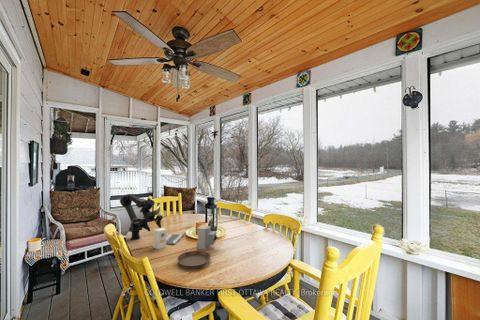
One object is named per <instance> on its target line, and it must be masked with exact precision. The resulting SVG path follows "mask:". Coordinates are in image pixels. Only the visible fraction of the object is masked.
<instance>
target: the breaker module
mask: <svg viewBox="0 0 480 320" xmlns="http://www.w3.org/2000/svg"><path fill="white" fill-rule="evenodd" d="M166 237H167V228H164V227H161V228H159V227H158V228H156V229H153V244H152V245H153V249H157V250H161V249H164V248H166V247H167V244H166Z"/></svg>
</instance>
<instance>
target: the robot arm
mask: <svg viewBox="0 0 480 320" xmlns="http://www.w3.org/2000/svg"><path fill="white" fill-rule="evenodd" d="M119 203H120V204H121V206H122V207H124V208H125V211H126V213H127V214H128V217H129V219H130V227H129V228H128V231H129V232H130V233H131V237H130V240H140V238H141V236H140V231H142V230H143V229H144V230H146V231H148V232H151V228H150V227H149V224H148V223H150V222H155V224H156V226H157V227H158V228H162V219H164V216H163V215H161V214H160V215H158V214H159V212H160V211H159V210H158V209H155V210H152V208H153V206H154V205H155V204H156V202H155V200H153V199H151V198H147V199H144V198H140V197H139V196H136V195H135V194H134V193H128V194H126V195H124V196H123V197H121V198H120V199H119ZM132 203H135V206H136V207H137V208H139V209H140V210H139V213H142V215H143V217H142V219H141V218H138V217H137V214H136V212H135V210H134V208H133V205H132ZM151 210H152V211H151Z"/></svg>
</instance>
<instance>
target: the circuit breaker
mask: <svg viewBox="0 0 480 320" xmlns="http://www.w3.org/2000/svg"><path fill="white" fill-rule="evenodd" d="M196 229H197V230H196V235H197V241H196V249H197V250H206V251H207V250H208V249H209V248H211V246H215V245H214V244H215V243H216V242H217V239H218V236H217V231H215V230H213V231H212V226H211V225H201V224H200V226H198V227H197V228H196Z"/></svg>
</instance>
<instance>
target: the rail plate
mask: <svg viewBox="0 0 480 320" xmlns="http://www.w3.org/2000/svg"><path fill="white" fill-rule="evenodd" d="M184 236H185V235H184V233H179V234H173V232H171V233H169V234H168V235H166V245H173V246H175V245H176V244H177V243H178V242H179V241H180V240H182V239H183V237H184Z"/></svg>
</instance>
